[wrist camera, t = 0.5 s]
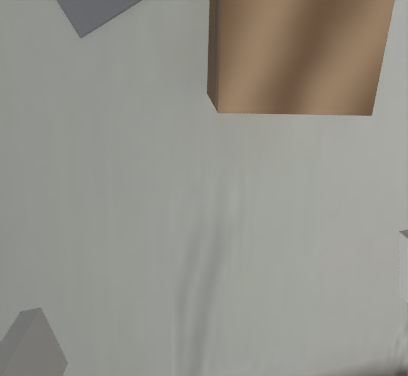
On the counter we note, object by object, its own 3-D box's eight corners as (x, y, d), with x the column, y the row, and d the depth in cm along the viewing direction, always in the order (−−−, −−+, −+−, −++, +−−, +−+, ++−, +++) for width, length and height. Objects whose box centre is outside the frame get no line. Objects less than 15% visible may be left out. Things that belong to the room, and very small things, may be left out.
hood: (207, 93, 36) (218, 112, 23) (210, -26, 32) (225, -79, 19) (308, 95, 36) (371, 115, 24) (323, -22, 32) (408, -71, 20)
